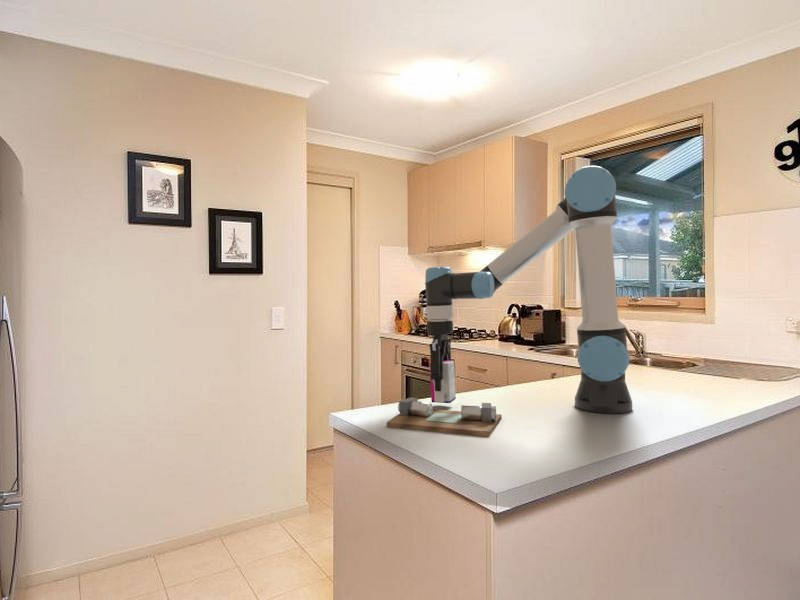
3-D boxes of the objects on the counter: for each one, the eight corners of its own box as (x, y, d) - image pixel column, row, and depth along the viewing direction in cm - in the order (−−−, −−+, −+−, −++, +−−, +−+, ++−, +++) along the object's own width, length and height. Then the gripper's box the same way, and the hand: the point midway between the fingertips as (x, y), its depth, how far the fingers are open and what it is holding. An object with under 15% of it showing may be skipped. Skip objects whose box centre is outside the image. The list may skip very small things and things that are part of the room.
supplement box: (456, 398, 146) (454, 360, 145) (450, 403, 141) (448, 363, 140) (437, 397, 148) (436, 359, 148) (430, 402, 143) (429, 363, 142)
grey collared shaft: (495, 417, 127) (495, 403, 127) (496, 423, 122) (496, 408, 122) (462, 416, 129) (461, 402, 128) (461, 422, 123) (460, 407, 123)
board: (501, 419, 130) (501, 413, 130) (489, 436, 115) (489, 430, 115) (408, 411, 140) (408, 406, 140) (386, 427, 125) (386, 421, 125)
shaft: (434, 414, 131) (434, 400, 131) (424, 419, 127) (424, 404, 127) (407, 410, 136) (406, 396, 136) (396, 415, 132) (396, 400, 132)
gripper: (437, 318, 154) (439, 392, 155) (416, 322, 137) (420, 406, 137) (460, 317, 151) (463, 393, 152) (442, 322, 134) (446, 407, 134)
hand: (442, 399), depth 144 cm, fingers closed on supplement box, 6 cm apart
